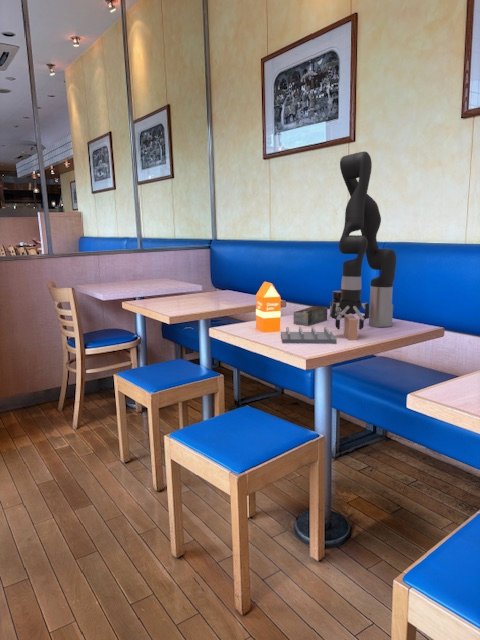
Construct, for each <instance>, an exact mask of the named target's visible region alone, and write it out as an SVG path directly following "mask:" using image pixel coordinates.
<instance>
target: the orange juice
mask: <svg viewBox="0 0 480 640" xmlns="http://www.w3.org/2000/svg"><path fill="white" fill-rule="evenodd" d="M281 302H282V299H281V295H280V294H279V293H278V290H276V288H275V285H274V284H273V283H271V282H267V281H264V282H263V283H262V285H261V286H260V288H259V290H258V291H257V293H256V294H255V329H256V330H257V331H260V332H262V334H263V333H277V332H281Z"/></svg>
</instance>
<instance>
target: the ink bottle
mask: <svg viewBox="0 0 480 640" xmlns="http://www.w3.org/2000/svg"><path fill="white" fill-rule="evenodd" d="M340 301H341V290H332V301H330V302H329V316H330V317H331V311H332V303H333V302H335V303H340ZM340 310H341V308H340V306H338V308H337V309H336V311H335V315H336V316H337V314H338V313H339V312H340ZM345 315H349V314H345V313H344V315H343V316H342V317H341V318H345Z"/></svg>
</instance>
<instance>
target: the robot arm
mask: <svg viewBox="0 0 480 640" xmlns="http://www.w3.org/2000/svg"><path fill="white" fill-rule="evenodd" d="M339 161H340V162H339V168H340V174H341V175H342V179H343V181H344V183H345V185H346V188H347V191H348V194H349V196H350V198H349V200H348V201H347V204H346V206H345V211H344V212H345V214H344V227H343V230H342V234H341V236H340V239H339V242H338V250H339V252H340V253H341V254H344V255H356V257H355V258H353V259H348V260H345V261H343V264H342V273H341V275H342V278H341V287H340V291H341V301H340V303H335V302H333V303H332V311H331V316H330V317H331V319H334V320H335V329H337V330H340V326H341V320H340V319H341V318H343V317H342V316H343V315H344V313H345V314H348V315H355V314H356V315H357V316H358V318H359V319H358V320H359V322H358V330H363V329H364V325H365V324H364V323H365V320H368V325H369V326H370V327H375V328H388V327H393V314H394V313H393V312H394V304H393V285H394V281H395V278H396V268H397V253H396V252H395V250H394V249H392V248H380V247H379V245H378V241H377V235H378V232H379V230H380V227H381V223H382V216H381V212H380V209H379V206H378V205H379V204H377V201H375V199H373V198H372V196H370V195H369V194H368V190H369V184H370V180H371V173H372V167H373V165H372V163H373V162H372V158H371V155H370V153H369V152H368V151H359V152H355V153H352V154H351V153H350V154H347V155H343V156H342V157H340V160H339ZM357 231H360V234H361V235H359V234H357V235H355V234H351V233H354V232H357ZM364 257H366V261H367V265H368V267H370V269H371V270H374V271H375V270H376V271H380V275H379V276H377V277H373V278H372V279H370V287H369V288H370V289H369V290H370V293H369V303H368V302H363V303H362V302H361V299H362V298H361V297H362V296H361V295H362V266H363V261H364ZM338 306H340V308H341V310H340V312H339V313H338V314H337V316H336V315H335V311H336V309H337V308H338ZM361 308H362V309H364V315H363V314H362V313H361V311H360V310H361Z"/></svg>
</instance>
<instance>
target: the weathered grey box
mask: <svg viewBox="0 0 480 640" xmlns="http://www.w3.org/2000/svg"><path fill="white" fill-rule="evenodd" d="M326 320H328V306H318V305H311V306H310V307H309V306H308V307H306V308H304V309H299V310H297V311H296V310H295V311H293V325H294V324H296V326H302V325H303V326H304V327H310V326H312V325H313V326H314V325H315V324H319V323H321V322H323V321H326Z"/></svg>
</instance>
